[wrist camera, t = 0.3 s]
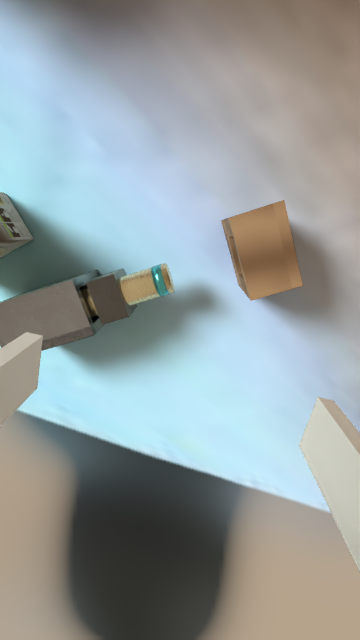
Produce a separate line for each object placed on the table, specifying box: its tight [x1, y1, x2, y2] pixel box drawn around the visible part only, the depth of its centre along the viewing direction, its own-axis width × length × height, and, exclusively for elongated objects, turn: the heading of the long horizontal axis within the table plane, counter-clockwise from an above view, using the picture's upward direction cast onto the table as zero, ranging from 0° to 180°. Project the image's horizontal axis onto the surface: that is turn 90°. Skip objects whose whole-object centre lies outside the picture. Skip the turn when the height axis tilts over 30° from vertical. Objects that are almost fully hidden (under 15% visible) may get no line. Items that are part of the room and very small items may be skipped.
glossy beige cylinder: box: [80, 263, 175, 325], centre depth 36 cm, size 5×17×5 cm, turn 107°
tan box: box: [222, 200, 303, 301], centre depth 34 cm, size 8×5×9 cm, turn 17°
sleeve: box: [0, 270, 104, 351], centre depth 38 cm, size 6×10×8 cm, turn 107°
